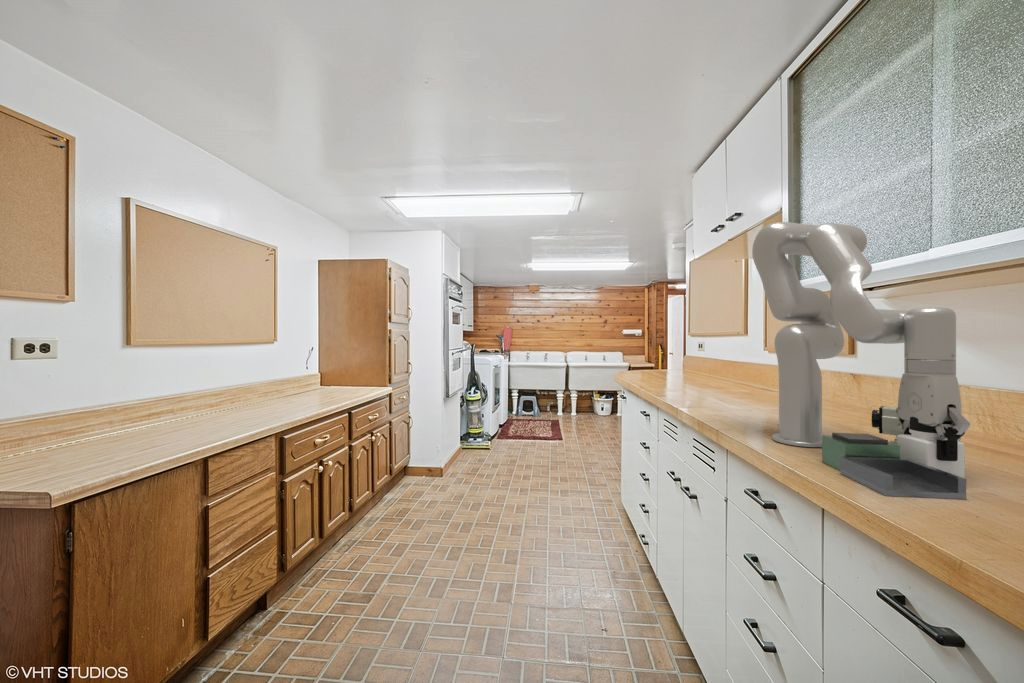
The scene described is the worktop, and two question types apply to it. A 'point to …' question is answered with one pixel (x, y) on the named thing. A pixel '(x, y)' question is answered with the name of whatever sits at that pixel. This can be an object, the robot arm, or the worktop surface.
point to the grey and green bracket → (887, 468)
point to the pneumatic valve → (887, 421)
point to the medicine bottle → (928, 448)
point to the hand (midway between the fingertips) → (929, 454)
